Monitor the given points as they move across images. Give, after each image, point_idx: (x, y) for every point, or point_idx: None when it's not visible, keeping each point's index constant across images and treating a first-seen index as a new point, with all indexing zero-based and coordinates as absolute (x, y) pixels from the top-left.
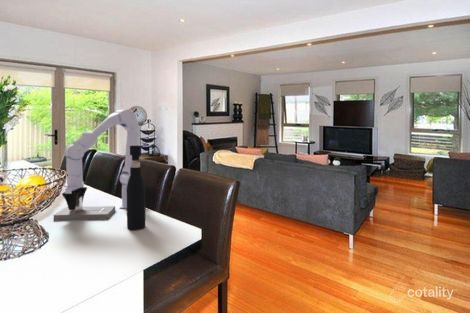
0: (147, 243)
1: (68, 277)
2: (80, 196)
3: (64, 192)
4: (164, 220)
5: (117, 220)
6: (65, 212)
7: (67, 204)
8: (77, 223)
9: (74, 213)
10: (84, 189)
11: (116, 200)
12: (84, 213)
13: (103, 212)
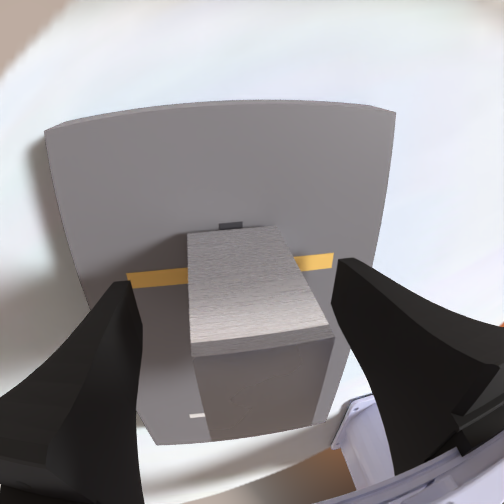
0: None
1: None
2: (282, 426)
3: (25, 471)
4: (173, 498)
5: (144, 445)
6: (149, 204)
7: (81, 322)
8: (41, 332)
9: None
10: (398, 467)
11: (500, 315)
12: (141, 364)
13: (184, 429)
